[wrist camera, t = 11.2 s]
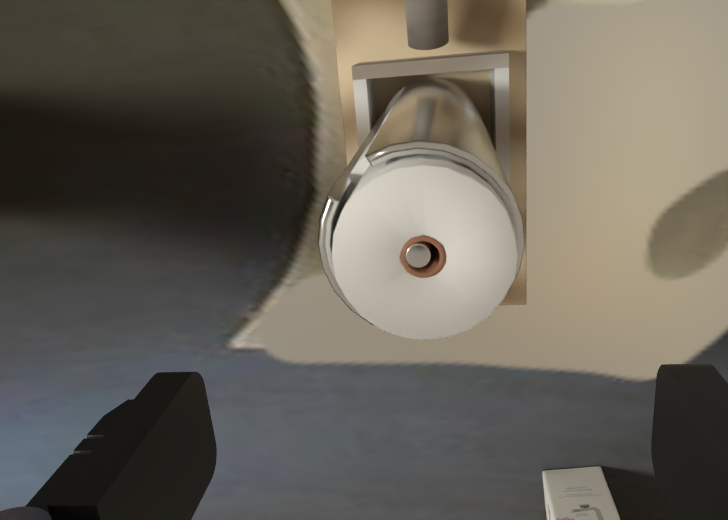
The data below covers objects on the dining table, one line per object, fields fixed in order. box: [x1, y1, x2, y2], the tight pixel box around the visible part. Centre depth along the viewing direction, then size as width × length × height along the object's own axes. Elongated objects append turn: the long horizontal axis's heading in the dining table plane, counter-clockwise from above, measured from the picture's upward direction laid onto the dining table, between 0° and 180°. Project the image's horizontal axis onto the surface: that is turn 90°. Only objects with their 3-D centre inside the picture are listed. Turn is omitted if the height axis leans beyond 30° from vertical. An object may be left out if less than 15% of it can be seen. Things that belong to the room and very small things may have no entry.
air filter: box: [318, 78, 525, 340], centre depth 31 cm, size 6×6×25 cm
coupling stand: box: [331, 0, 526, 305], centre depth 40 cm, size 26×12×8 cm, turn 5°
